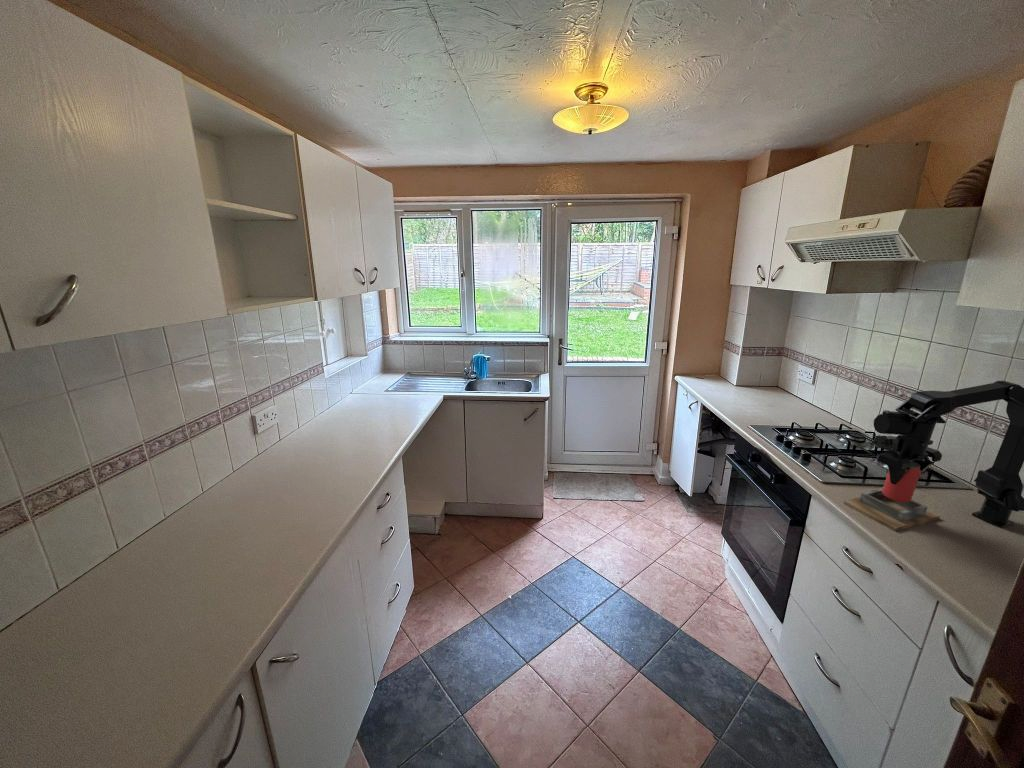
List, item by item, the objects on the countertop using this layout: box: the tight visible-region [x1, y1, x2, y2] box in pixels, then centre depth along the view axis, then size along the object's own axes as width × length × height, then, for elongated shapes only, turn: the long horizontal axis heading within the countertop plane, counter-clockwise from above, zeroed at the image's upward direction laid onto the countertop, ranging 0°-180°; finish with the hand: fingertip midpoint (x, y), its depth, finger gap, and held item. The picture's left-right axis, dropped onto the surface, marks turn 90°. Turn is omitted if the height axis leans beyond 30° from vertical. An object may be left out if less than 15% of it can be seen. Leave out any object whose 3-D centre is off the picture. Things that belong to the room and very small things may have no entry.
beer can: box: [882, 461, 922, 503], centre depth 120 cm, size 7×7×12 cm
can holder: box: [843, 487, 941, 532], centre depth 122 cm, size 20×14×4 cm
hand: (900, 481), depth 120 cm, fingers closed on beer can, 7 cm apart
